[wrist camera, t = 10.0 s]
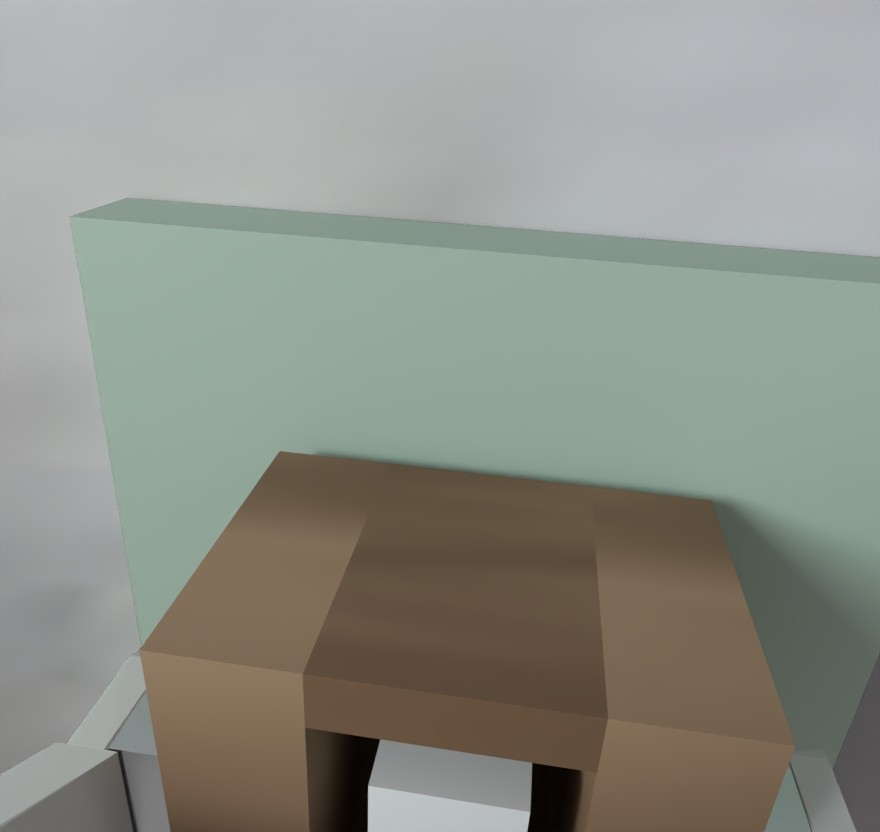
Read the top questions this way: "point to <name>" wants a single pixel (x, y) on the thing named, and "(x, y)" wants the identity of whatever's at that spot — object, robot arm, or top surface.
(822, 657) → the base
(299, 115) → the top surface
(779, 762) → the open wooden frame
